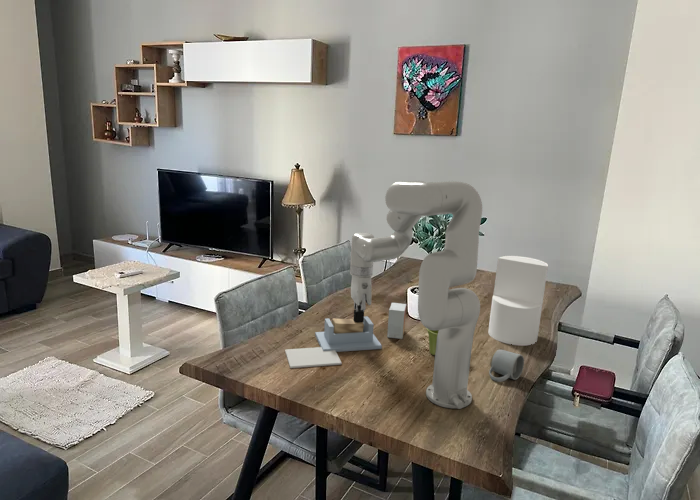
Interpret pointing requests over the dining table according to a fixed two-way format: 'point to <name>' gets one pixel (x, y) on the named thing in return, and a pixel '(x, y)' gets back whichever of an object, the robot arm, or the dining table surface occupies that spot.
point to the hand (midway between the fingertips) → (358, 321)
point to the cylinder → (517, 300)
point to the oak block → (347, 326)
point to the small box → (396, 320)
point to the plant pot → (432, 340)
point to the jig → (348, 338)
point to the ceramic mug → (506, 365)
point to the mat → (311, 357)
